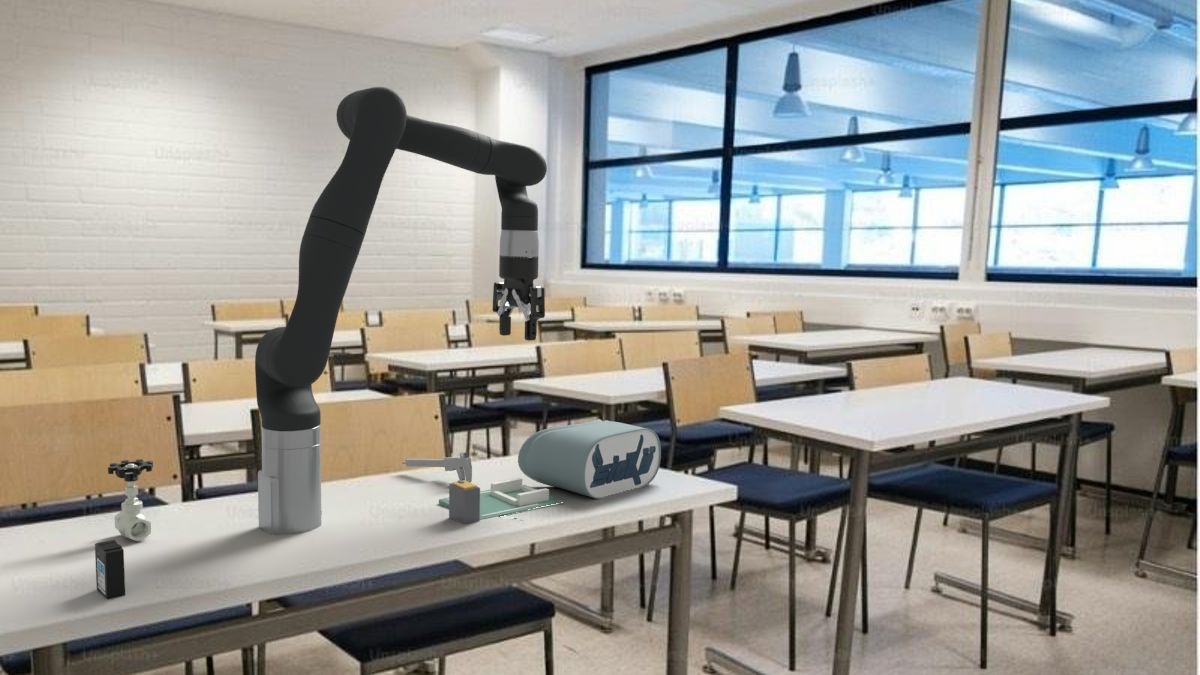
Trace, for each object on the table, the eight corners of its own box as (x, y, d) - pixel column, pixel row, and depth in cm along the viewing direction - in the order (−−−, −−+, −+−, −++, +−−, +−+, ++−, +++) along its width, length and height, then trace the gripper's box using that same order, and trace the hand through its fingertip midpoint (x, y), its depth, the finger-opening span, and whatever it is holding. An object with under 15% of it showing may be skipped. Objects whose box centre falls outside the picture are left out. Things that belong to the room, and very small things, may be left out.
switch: (464, 531, 153) (464, 487, 152) (448, 523, 157) (449, 480, 156) (479, 527, 155) (480, 484, 154) (463, 520, 159) (464, 478, 158)
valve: (117, 547, 141) (114, 472, 139) (103, 536, 145) (101, 463, 144) (162, 538, 145) (160, 465, 144) (147, 528, 150) (145, 456, 149)
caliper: (471, 484, 179) (472, 453, 179) (467, 485, 178) (468, 454, 178) (405, 464, 192) (406, 434, 191) (401, 465, 191) (402, 435, 190)
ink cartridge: (96, 599, 122) (93, 541, 121) (114, 595, 123) (112, 537, 122) (106, 611, 118) (104, 551, 117) (125, 606, 120) (123, 548, 119)
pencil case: (583, 508, 167) (585, 440, 166) (514, 486, 180) (516, 423, 179) (660, 486, 183) (662, 424, 182) (592, 467, 196) (593, 409, 195)
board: (480, 526, 156) (480, 507, 155) (438, 505, 166) (438, 488, 166) (563, 507, 167) (564, 490, 167) (519, 489, 178) (520, 473, 177)
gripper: (482, 252, 178) (481, 334, 180) (524, 255, 168) (522, 343, 170) (514, 252, 183) (512, 332, 185) (556, 255, 172) (555, 340, 174)
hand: (517, 337), depth 177 cm, fingers open, 8 cm apart
